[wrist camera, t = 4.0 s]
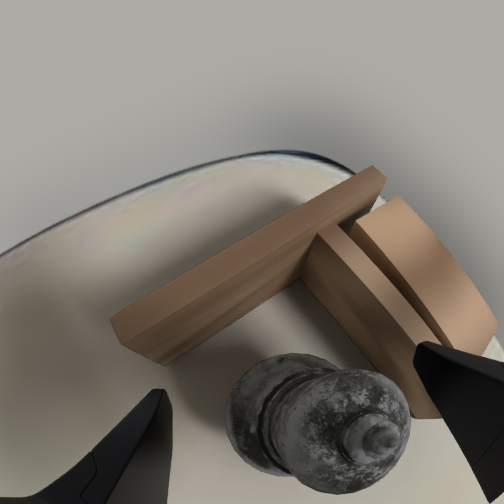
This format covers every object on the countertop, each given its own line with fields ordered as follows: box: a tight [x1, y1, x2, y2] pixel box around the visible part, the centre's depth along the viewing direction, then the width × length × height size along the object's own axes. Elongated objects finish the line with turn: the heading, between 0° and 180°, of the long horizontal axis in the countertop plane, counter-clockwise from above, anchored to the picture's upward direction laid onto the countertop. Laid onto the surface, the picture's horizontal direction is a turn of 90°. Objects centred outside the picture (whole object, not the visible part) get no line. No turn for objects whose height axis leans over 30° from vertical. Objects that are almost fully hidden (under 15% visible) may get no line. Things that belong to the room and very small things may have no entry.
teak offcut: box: [348, 196, 499, 356], centre depth 12 cm, size 10×4×2 cm, turn 31°
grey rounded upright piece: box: [225, 353, 411, 495], centre depth 8 cm, size 6×6×12 cm
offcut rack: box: [109, 166, 442, 419], centre depth 12 cm, size 14×16×6 cm
